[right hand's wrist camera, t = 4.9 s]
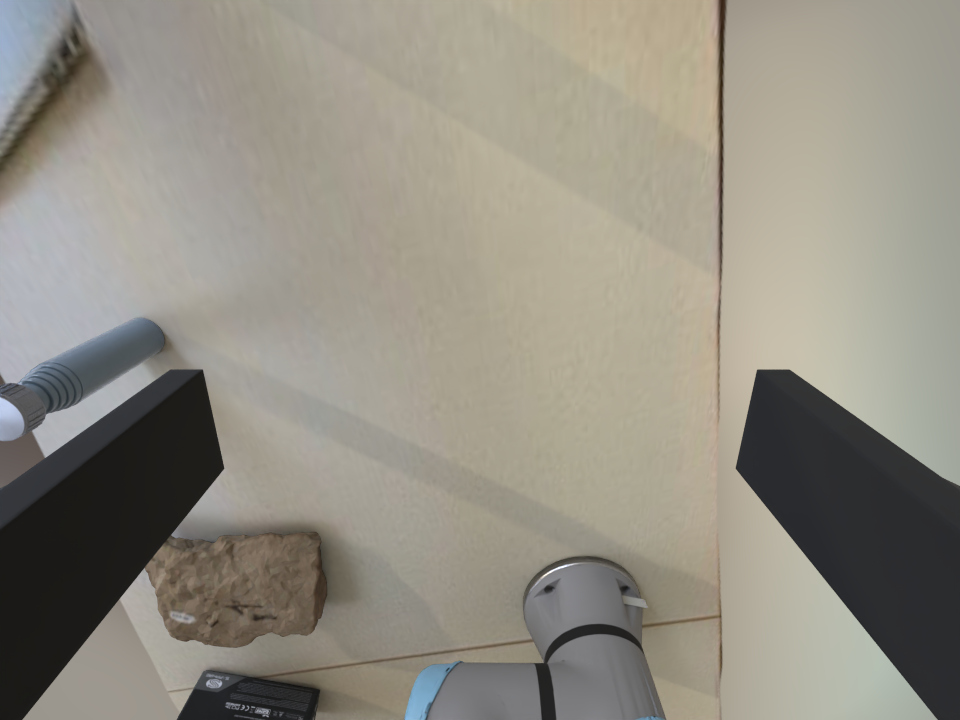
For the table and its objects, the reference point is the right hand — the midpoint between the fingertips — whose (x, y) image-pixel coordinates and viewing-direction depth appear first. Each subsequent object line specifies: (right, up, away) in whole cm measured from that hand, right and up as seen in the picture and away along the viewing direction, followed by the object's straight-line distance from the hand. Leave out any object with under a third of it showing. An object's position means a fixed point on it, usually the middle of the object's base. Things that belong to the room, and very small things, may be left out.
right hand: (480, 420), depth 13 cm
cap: (-36, -3, +26) cm, 44 cm away
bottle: (-36, +4, +42) cm, 55 cm away
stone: (-30, -25, +54) cm, 66 cm away
